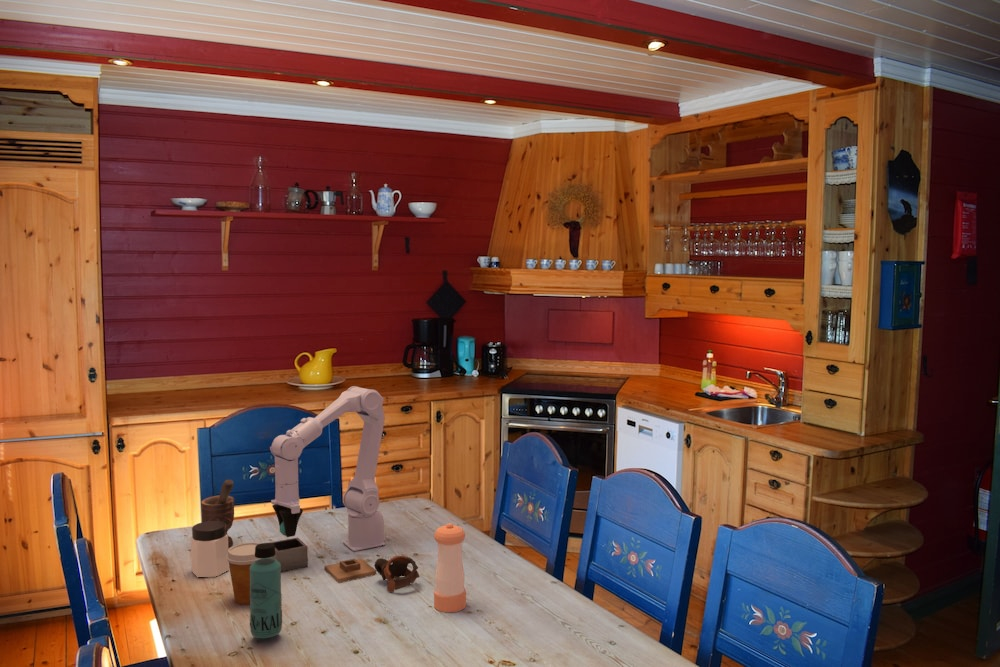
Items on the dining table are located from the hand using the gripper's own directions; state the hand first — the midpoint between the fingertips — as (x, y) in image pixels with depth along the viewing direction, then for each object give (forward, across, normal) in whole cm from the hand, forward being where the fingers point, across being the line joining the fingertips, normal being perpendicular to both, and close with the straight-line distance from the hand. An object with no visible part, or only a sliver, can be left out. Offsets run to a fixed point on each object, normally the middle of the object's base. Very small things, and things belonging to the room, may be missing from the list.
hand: (287, 533), depth 203 cm
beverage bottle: (+9, +38, -16) cm, 42 cm away
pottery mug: (+9, +26, +18) cm, 33 cm away
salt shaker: (+9, +44, +24) cm, 51 cm away
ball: (-2, 0, 0) cm, 2 cm away
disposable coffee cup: (+9, +16, -14) cm, 23 cm away
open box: (+8, 0, 0) cm, 8 cm away
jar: (+9, -6, -18) cm, 21 cm away
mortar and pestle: (+9, -23, -11) cm, 27 cm away
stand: (+8, +13, +12) cm, 19 cm away
